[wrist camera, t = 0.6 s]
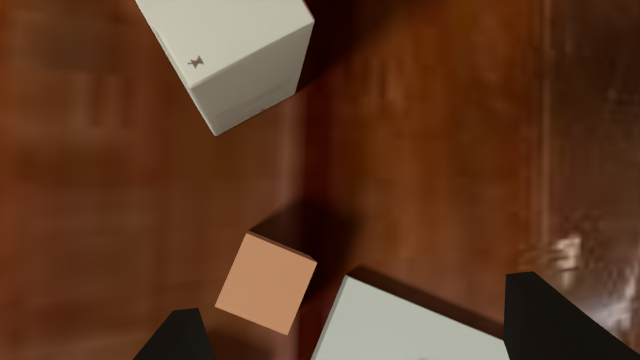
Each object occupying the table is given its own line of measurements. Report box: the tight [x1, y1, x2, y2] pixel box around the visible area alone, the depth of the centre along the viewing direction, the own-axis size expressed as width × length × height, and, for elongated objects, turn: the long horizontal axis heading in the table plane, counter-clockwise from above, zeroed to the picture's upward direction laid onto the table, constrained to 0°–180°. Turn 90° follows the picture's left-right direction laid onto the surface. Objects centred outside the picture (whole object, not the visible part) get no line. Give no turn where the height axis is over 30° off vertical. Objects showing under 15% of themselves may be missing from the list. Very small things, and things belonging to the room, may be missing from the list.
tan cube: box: [215, 230, 317, 335], centre depth 31 cm, size 4×4×4 cm
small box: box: [135, 0, 315, 136], centre depth 27 cm, size 8×6×13 cm
